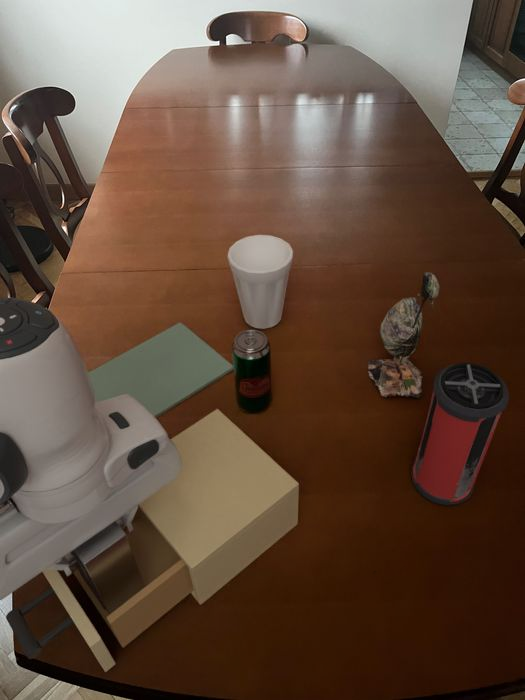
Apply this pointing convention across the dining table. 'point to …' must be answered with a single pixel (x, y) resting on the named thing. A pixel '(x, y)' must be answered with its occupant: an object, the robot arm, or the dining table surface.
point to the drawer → (130, 618)
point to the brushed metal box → (109, 567)
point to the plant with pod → (402, 344)
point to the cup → (261, 277)
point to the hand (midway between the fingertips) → (98, 547)
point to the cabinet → (222, 503)
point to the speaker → (458, 431)
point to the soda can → (252, 370)
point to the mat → (161, 370)
